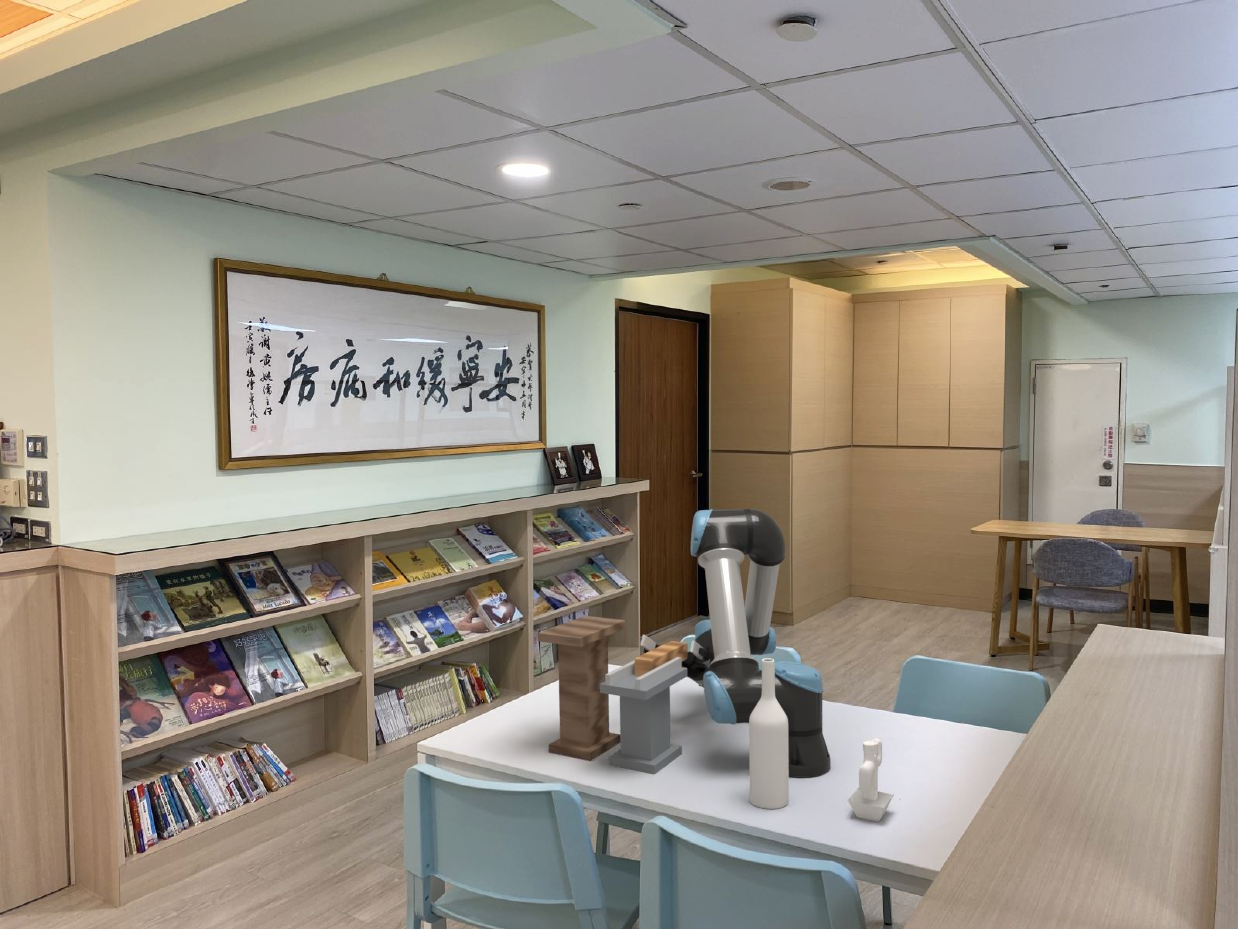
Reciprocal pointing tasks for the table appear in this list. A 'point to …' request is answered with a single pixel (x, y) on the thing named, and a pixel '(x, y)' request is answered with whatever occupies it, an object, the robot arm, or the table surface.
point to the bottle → (768, 746)
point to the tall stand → (583, 686)
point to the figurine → (870, 785)
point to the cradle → (644, 715)
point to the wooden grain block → (660, 656)
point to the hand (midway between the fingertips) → (667, 643)
